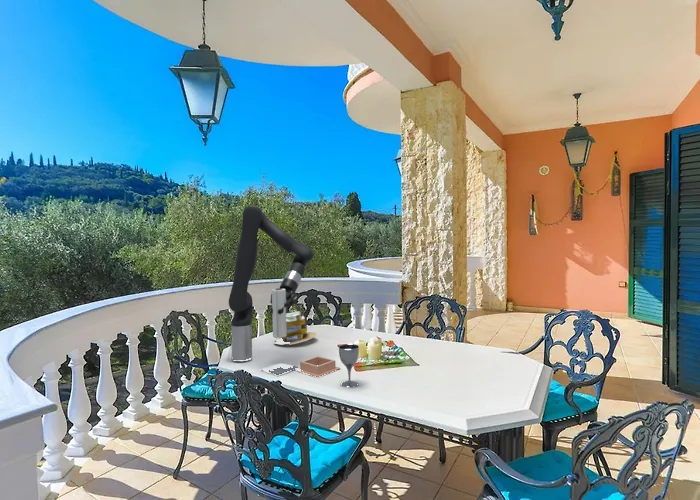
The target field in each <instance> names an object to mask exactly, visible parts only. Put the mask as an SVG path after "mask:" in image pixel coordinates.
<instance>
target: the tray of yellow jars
mask: <svg viewBox="0 0 700 500" xmlns="http://www.w3.org/2000/svg"><path fill="white" fill-rule="evenodd" d="M301 315H302V313H301V311H293V312H286V330H287V336H286V337H282V339H283V341H284V342H290V344H289V345H295V344H300V343H303V342H306V341H309V340H312V339H314V338H315V337H317V334H318V333H316V332H311V331H310V332H308V326H307V323H306V318H305V316H304V315H302V316H301ZM289 345H288V346H289Z"/></svg>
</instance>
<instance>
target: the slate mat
mask: <svg viewBox="0 0 700 500" xmlns="http://www.w3.org/2000/svg"><path fill="white" fill-rule="evenodd" d="M298 367H299V366H296V365H294V366H293V368H291V367H290V368H288V369H283V368H281V367H280V368H277V369H273V370H274V371H270V370H269V372H271V373H274V374H276V375H279V374H282V373H284V372H287V371H290V370H293V369H295V368H298Z"/></svg>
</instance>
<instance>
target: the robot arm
mask: <svg viewBox="0 0 700 500" xmlns="http://www.w3.org/2000/svg"><path fill="white" fill-rule="evenodd" d="M241 223H242V226H241V235H240V239H239V243H238V246H237V252H236V259H235V267H234V273H233V281H232V286H231V289H230V294H229V297H228V306H229V308H230V310H231V311H233V316H232V319H231V342H230V343H231V347H230V348H231V358H232V357H233V360H246V359H249V358H251V357H252V358H253V337H252V333H253V332H252V331H253V330H252V320H253V315H254V314H253V312H254V311H253V308H254V307H253V305H254V304H253V298H252V297H253V296H252V294H251V293H250V292H248V289H249V288H248V286H249V283H250V280H251V279H252V275H253V273H254V271H255V269H256V268H255V267H256V264H257V259H258V257H257V256H258V234H259V230H261V231H262V232H264V233H265V234H266V235H267V236H269V238H270V239H271V240H272V241H274V243H276V244H277V245H278V246H279V247H280V248H281V249H283V250H284V251H285V252H286V253H295V256H294V257H293V260H292V263H291V266H290V267H289V269H288V271H287V273H286V274H285V275H284V278H283V280H282V281H281V283H280V286H279V288H281V289H286V303H285V304H284V307H285V308H286V309H287V308H290V307H291V306H292V305H293V304H294V303H295V302H296V301H297V300H298V297H297V295H296V294H295V293H296V291H297V290H298V287H299V286H300V283H301V281H302V278H303V275H305V270H306V268H305V267H306V265H307V264H308V263H309V262H310V261H312V259H313V258H314V252H313V250H312V249H311V248H310V247H309V246H307V245H306V244H304V243H301V242H299V241H297V240H296V239H295V238H294V237H293V236H291V235H290V234H289V233H287V232H286V231H285V230H283V229H282V228H281V227H279V226H278V225H277V224H275V223H274V222H273V221H272V220H271V219H270V218H268V216H267V215H266V214H265V213H264V212H263V210H262V208H261V207H260V206H258V205H255V204H251V205H249V204H248V206H246V207H245V208H244V210H243V211H242V221H241ZM270 304H271V305H272V293H271V294H270ZM284 307H283V308H282V309H281V308H280V309H279V310H278V314H280V315H281V314H282V313H283V311H284ZM270 313H271V314H273V309H272V307H271V308H270ZM233 360H232V361H233Z"/></svg>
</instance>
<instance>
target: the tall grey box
mask: <svg viewBox="0 0 700 500" xmlns="http://www.w3.org/2000/svg"><path fill="white" fill-rule="evenodd" d="M271 294H272V304H271V308H272V309H273V314H272V313H271V314H272V316H271V317H272V337H273V338H274V339H276V340H277V339H280V338H282V337H286V336H287V330H286V314H287V307H286V308H285V307H284V304H285V303H286V289H281V288H280V287H279V288H273V289H271ZM283 307H284V311H283V313H282V314H281V315H280V314H278V310H279V309H280V308H281V309H282V308H283Z"/></svg>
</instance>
